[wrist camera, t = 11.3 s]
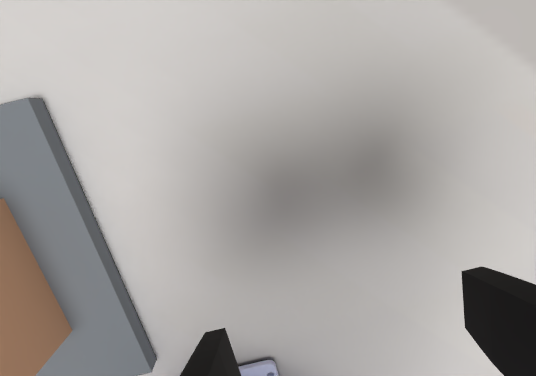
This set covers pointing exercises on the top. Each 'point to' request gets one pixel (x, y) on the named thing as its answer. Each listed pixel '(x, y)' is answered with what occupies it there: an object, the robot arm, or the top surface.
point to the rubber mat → (68, 249)
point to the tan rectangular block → (25, 305)
